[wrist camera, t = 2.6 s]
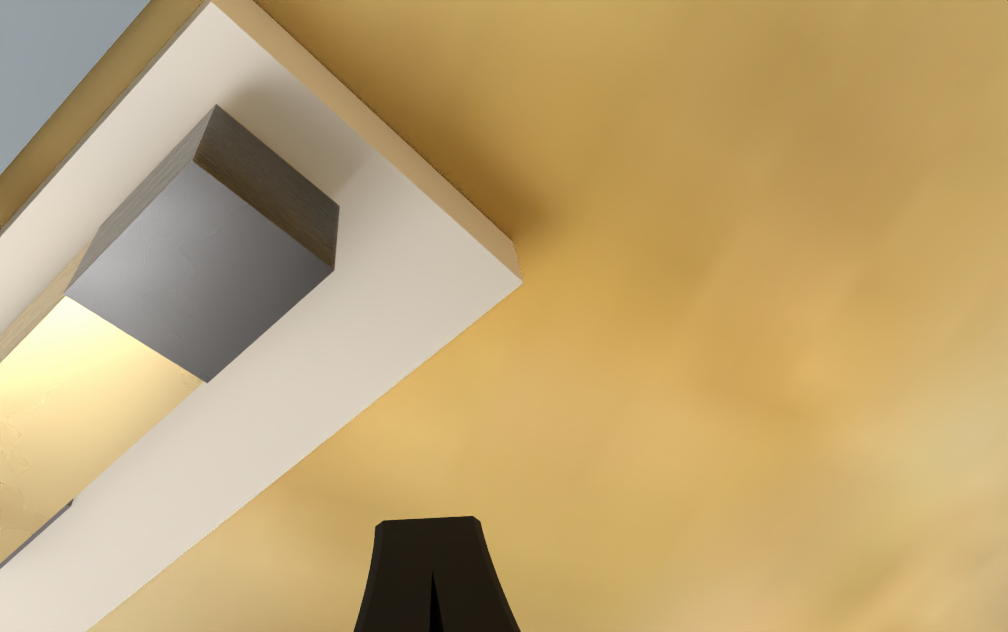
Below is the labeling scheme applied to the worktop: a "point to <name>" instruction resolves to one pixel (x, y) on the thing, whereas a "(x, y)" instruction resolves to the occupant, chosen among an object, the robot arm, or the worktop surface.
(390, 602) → the robot arm
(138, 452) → the jamb plate
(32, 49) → the door panel
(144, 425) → the swing bar
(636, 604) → the worktop surface
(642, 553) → the worktop surface
